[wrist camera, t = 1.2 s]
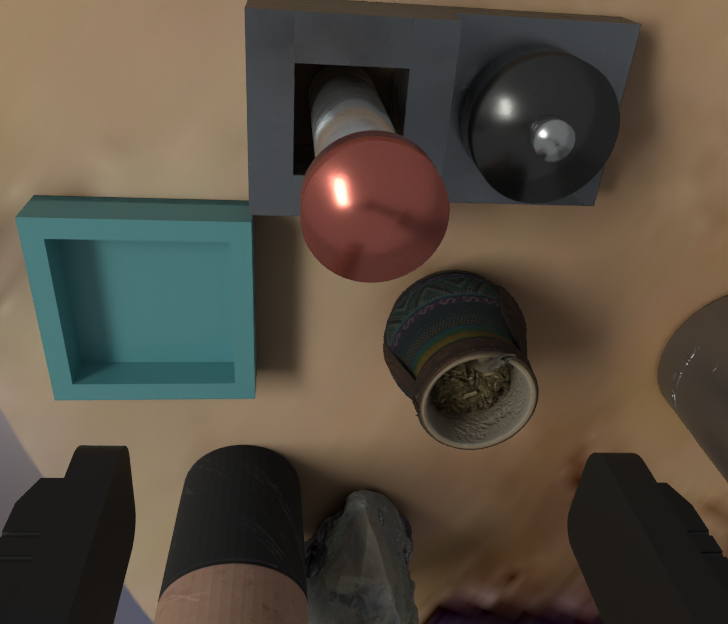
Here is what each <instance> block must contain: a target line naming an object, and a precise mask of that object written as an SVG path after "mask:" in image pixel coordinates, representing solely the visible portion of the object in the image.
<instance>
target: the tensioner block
mask: <svg viewBox="0 0 728 624" xmlns="http://www.w3.org/2000/svg"><path fill="white" fill-rule="evenodd" d="M640 28H641V24H639V23H636V22H633V21H631V20H628V19H625V18H622V17H612V16H595V15H579V14H563V13H546V12H530V11H514V10H497V9H481V8H465V7H448V6H432V5H416V4H399V3H383V2H367V1H350V0H247V3H246V6H245V45H246V89H247V133H248V177H249V215H270V216H301V214H300V191H301V186H302V182H303V179H304V176H305V174H306V172H307V170H308V168H309V166H310V164H311V163H312V162H313V160H314V159H315V151H314V146H312V145H293V137H294V63H306V64H326V65H346V66H366V67H386V68H394V73H393V85H392V96H391V108H390V121H391V123H392V125H393V127H394V129H395V131H396V134H398V135H401V136H403V137H405V138H407V139H409V140H411V141H413V142H414V143H415V144H417V145H418V146H419V147H420V148H421V149H422V150H423V151H424V152H425V153H426V154H427V155H428V157H429V158H430V159H431V161H432V162H433V164H434V166H435V168H436V170H437V171H438V173H439V175H440V177H441V179H442V181H443V182H444V185H445V187H446V190H447V194H448V198H449V202H460V203H498V204H536V205H574V206H594V204H595V200H596V196H597V193H598V189H599V185H600V181H601V177H602V173H603V170H604V166H605V163H606V161H607V159H608V158H609V156H610V154H611V152H612V150H613V148H614V145H615V142H616V139H617V135H618V130H619V122H620V113H619V108H620V104H621V101H622V97H623V93H624V89H625V85H626V81H627V78H628V74H629V70H630V66H631V62H632V58H633V54H634V51H635V47H636V43H637V39H638V35H639V31H640Z"/></svg>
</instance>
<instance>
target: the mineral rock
mask: <svg viewBox="0 0 728 624" xmlns="http://www.w3.org/2000/svg"><path fill="white" fill-rule="evenodd" d="M345 500H346V503H345V506H344V509H343V510H341V511H339V512H338V513H337V514H335V515H334V516H333V517H328V518H327V519H326V520H325V521H323V523H322V525H321V526H320V528H319V530H318V533H317V535H316V536H315V538H314V539H310V540H309V541H306V542H305V543H304V548H305V564H306V579H307V594H308V622H309V624H418V622H419V619H418V610H417V607H416V605H415V603H414V589H415V582H414V581H413V580H411V579H410V572H409V566H408V564H409V560H410V559H411V557H412V551H413V547H414V543H413V541H412V538H411V537H412V531H411V527H410V524H409V522H408V520H407V519H406V518H405V517H403V516H402V515H400V513H399V512H398V510H397V509H396V507H395V506H394V504H393V503H392V502H391V501H390V500H389V499H388V498H387V497H386V496H384V495H382V494H379V493H376V492H373V491H368V490H364V489H361V490H359V491H354V492H353V493H351V494H350V495H348V496H347V497H346V499H345Z"/></svg>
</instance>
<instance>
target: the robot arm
mask: <svg viewBox="0 0 728 624" xmlns="http://www.w3.org/2000/svg"><path fill="white" fill-rule="evenodd" d="M658 384H659V387H660V390H661V393H662V395H663V396H664V398H665V399H666V400H667V402H668V403H669V405H670V406H671V407H672V409H673V410H674V411H675V413H676V414H677V415H678V417H679V418H680V419H681V421H682V422H683V423H684V425H685V426H686V427H687V429H688V430H689V431H690V433H691V434H692V435H693V437H694V438H695V439H696V441H697V443H698V444H699V445H700V447H701V448H702V449H703V451H704V452H705V453H706V455H707V456H708V457H709V459H710V460H711V461H712V463H713V464H714V465H715V466H716V468H717V469H718V470H719V472H720V473H721V474H722V476H723V477H724V478H725V480H726V481H727V482H728V296H726V297H723V298H721V299H719V300H717V301H715V302H713V303H711V304H709V305H707V306H705V307H704V308H702V309H701V310H700V311H698V312H697V313H695V314H694V315H693V316H691V317H690V318H689V319H688V320H687V321H686V322H685V323H684V324H683V325H682V326H681V327H680V328H679V329H678V330H677V331H676V332H675V334H674V335H673V336H672V338H671V339H670V340H669V342H668V343H667V345H666V347H665V349H664V352H663V354H662V356H661V359H660V363H659V367H658ZM135 522H136V513H135V502H134V493H133V484H132V475H131V466H130V457H129V451H128V448H127V447H126V446H86V445H80V446H78V447H77V449H76V450H75V452H74V454H73V457H72V459H71V462H70V464H69V467H68V469H67V472H66V474H65V477H64V478H40V479H39V480H38V481H37V482H36V483H35V484H34V485H33V486H32V487H31V488H30V489H29V490H28V491H27V492H26V493H25V494H24V495H23V496H22V497H21V498H20V499H19V500H18V501H17V502H16V503H15V505H14V507H13V509H12V511H11V514H10V516H9V518H8V520H7V522H6V524H5V526H4V529H3V531H2V537H0V624H113V623H114V619H115V615H116V611H117V606H118V603H119V599H120V595H121V591H122V587H123V583H124V579H125V575H126V571H127V567H128V563H129V559H130V555H131V551H132V547H133V542H134V534H135ZM568 536H569V541H570V545H571V547H572V550H573V552H574V555H575V557H576V559H577V562H578V564H579V566H580V569H581V571H582V573H583V576H584V578H585V580H586V583H587V585H588V587H589V590H590V592H591V594H592V597H593V599H594V601H595V604H596V606H597V608H598V611H599V613H600V615H601V618H602V620H603V622H604V624H728V559H727V557H723V555H722V552H723V551H722V550H721V548H720V547H719V545H718V544H717V542H716V541H715V539H714V538H713V536H710V535H709V530H708V529H707V527H706V526H705V524H704V522H703V521H702V519H701V518H700V516H699V515H698V513H697V512H696V510H695V509H694V507H693V506H692V505H691V504H690V503H689V502H688V501H687V500H686V499H685V498H683V497H682V496H681V495H680V494H679V493H678V492H676V491H675V490H674V489H673V488H672V487H671V486H670V485H668V484H667V483H657V482H656V480H655V479H654V477H653V475H652V474H651V472H650V471H649V469H648V467H647V466H646V464H645V462H644V461H643V460H642V458H641V457H640V456H639V455H637V454H635V453H593V454H591V455H590V456H589V458H588V460H587V462H586V465H585V468H584V470H583V473H582V476H581V479H580V482H579V484H578V487H577V490H576V493H575V496H574V499H573V501H572V504H571V507H570V510H569V514H568Z"/></svg>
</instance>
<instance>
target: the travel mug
mask: <svg viewBox="0 0 728 624" xmlns="http://www.w3.org/2000/svg"><path fill="white" fill-rule="evenodd" d="M154 624H309V622H308V594H307V579H306V564H305V548H304V533H303V518H302V503H301V491H300V483H299V478H298V476H297V473H296V471H295V470H294V468H293V467H292V465H291V464H290V463H289V462H288V461H287V460H286V459H285V458H283V457H282V456H280V455H279V454H277V453H275V452H273V451H270V450H268V449H265V448H261V447H256V446H248V445H236V446H229V447H224V448H220V449H217V450H215V451H212V452H210V453H208V454H206V455H205V456H203V457H202V458H200V459H199V460H198V461H197V462H196V463H195V464H194V465H193V466H192V468H191V469H190V471H189V472H188V474H187V477H186V479H185V483H184V487H183V491H182V495H181V499H180V504H179V508H178V513H177V517H176V522H175V527H174V531H173V536H172V540H171V545H170V549H169V554H168V559H167V563H166V568H165V572H164V577H163V582H162V586H161V591H160V595H159V600H158V605H157V609H156V615H155V621H154Z"/></svg>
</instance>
